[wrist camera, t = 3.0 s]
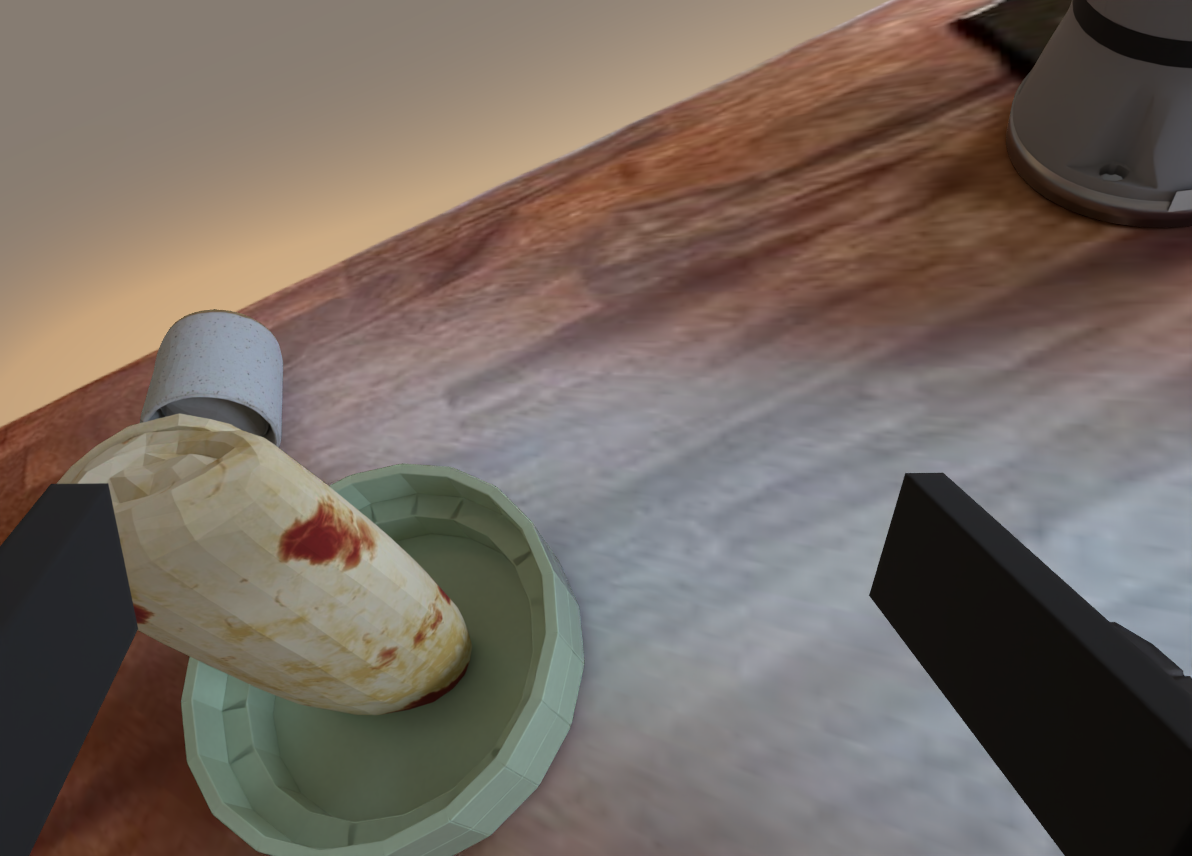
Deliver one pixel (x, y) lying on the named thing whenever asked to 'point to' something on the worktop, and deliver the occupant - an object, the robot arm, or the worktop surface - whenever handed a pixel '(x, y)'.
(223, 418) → the ceramic mug
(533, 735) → the bowl
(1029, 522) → the worktop surface
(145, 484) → the food model
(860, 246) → the worktop surface
